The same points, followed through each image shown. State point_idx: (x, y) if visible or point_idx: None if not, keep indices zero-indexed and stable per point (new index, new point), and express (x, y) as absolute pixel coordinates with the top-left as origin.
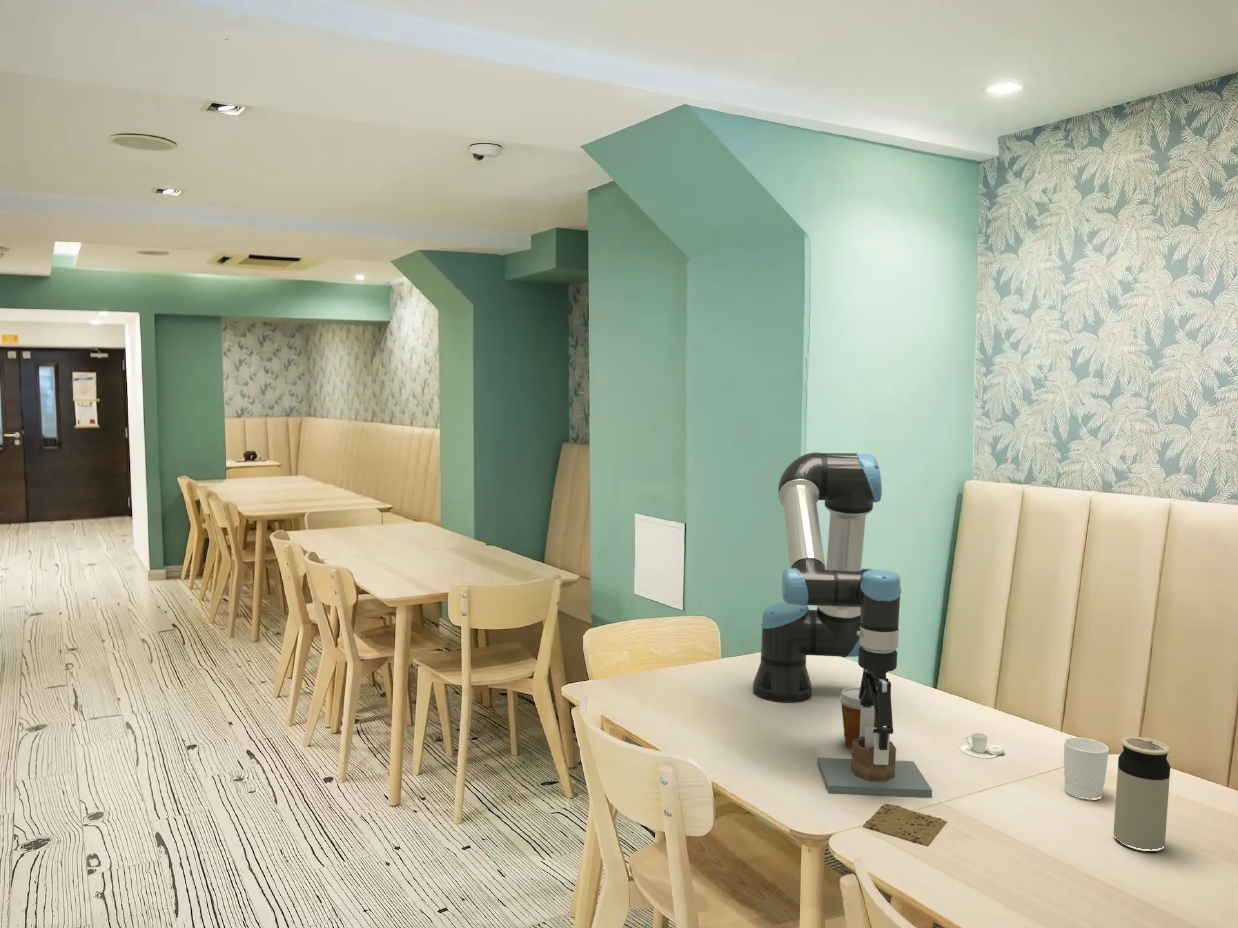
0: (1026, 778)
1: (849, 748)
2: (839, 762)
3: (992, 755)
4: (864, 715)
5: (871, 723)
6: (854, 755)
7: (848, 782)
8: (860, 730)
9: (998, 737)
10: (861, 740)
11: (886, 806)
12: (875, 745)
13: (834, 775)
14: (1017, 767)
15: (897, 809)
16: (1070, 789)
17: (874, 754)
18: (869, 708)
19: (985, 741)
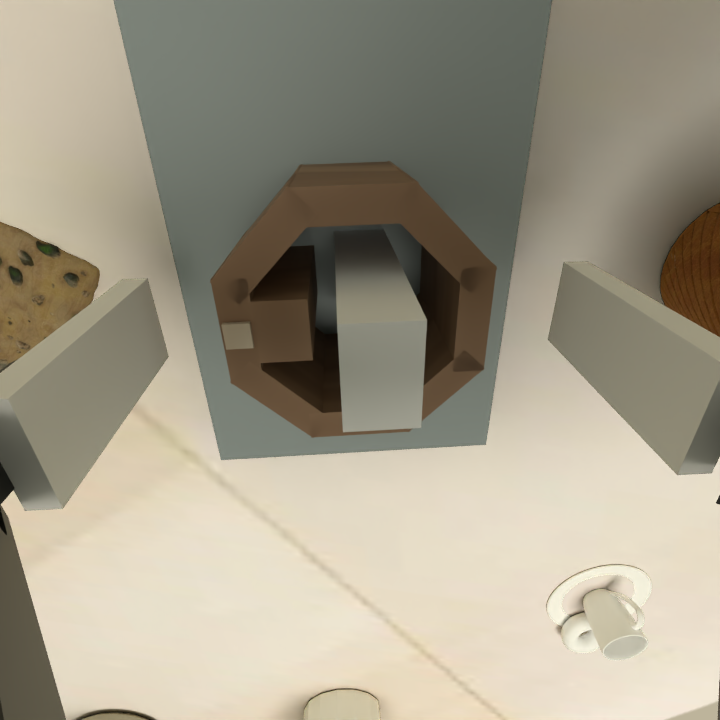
0: (414, 648)
1: (710, 208)
2: (474, 102)
3: (562, 616)
4: (656, 353)
5: (601, 373)
6: (317, 176)
7: (195, 110)
8: (591, 277)
9: (678, 641)
10: (434, 256)
11: (59, 270)
12: (53, 336)
13: (277, 30)
14: (482, 644)
15: (42, 310)
16: (325, 707)
17: (101, 302)
18: (690, 431)
19: (597, 642)
